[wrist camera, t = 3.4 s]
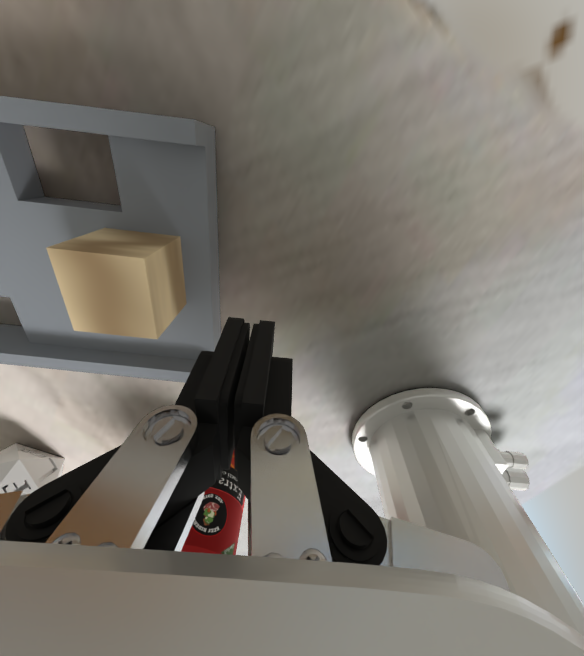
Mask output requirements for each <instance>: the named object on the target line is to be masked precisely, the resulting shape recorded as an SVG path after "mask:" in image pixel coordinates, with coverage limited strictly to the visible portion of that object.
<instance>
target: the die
mask: <svg viewBox="0 0 584 656" xmlns="http://www.w3.org/2000/svg"><path fill="white" fill-rule="evenodd" d="M64 460H65V458H61V457H58V456H55V455H52V454H49V453H46V452H43V451H39V450H36V449H33V448H30V447H27V446H24V445H21V444H17V443H15V444H13V445H11V446H9V447H7V448H6V449H4V450H2V451H0V494H1V493H8V492H15V491H22V490H23V491H24V492H25V494H31V493H32V492H34V491H35V490H37V489H39V488H40V487H42V486H43V485H45V484H47V483H49V482H51V481H53V480H55V479H57V478H59V477H61V476H62V471H63V465H64Z"/></svg>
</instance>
